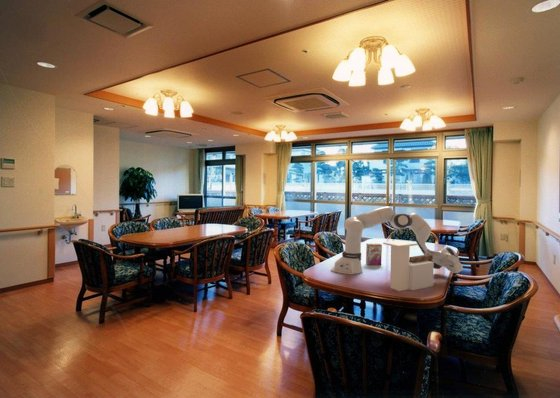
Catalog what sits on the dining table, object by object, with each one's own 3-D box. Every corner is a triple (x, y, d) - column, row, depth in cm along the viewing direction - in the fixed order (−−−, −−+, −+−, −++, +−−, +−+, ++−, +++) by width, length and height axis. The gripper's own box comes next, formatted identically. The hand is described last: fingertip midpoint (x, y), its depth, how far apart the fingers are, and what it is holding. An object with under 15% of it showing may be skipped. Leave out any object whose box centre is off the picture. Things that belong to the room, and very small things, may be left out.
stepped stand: (397, 293, 185) (398, 245, 184) (382, 287, 196) (383, 242, 194) (433, 285, 199) (434, 241, 198) (416, 280, 210) (417, 238, 209)
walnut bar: (413, 262, 197) (413, 258, 197) (409, 261, 199) (409, 257, 199) (432, 259, 205) (432, 255, 205) (428, 258, 208) (428, 254, 208)
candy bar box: (367, 265, 251) (368, 244, 250) (365, 263, 256) (366, 243, 255) (381, 265, 251) (382, 244, 251) (379, 263, 256) (379, 243, 256)
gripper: (433, 252, 223) (421, 244, 217) (461, 258, 205) (449, 249, 199) (430, 260, 222) (418, 252, 216) (458, 267, 203) (446, 259, 198)
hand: (433, 251), depth 207 cm, fingers open, 8 cm apart
